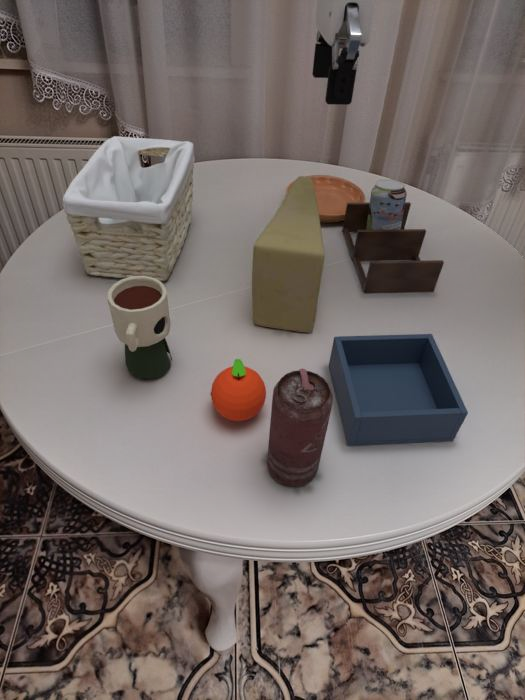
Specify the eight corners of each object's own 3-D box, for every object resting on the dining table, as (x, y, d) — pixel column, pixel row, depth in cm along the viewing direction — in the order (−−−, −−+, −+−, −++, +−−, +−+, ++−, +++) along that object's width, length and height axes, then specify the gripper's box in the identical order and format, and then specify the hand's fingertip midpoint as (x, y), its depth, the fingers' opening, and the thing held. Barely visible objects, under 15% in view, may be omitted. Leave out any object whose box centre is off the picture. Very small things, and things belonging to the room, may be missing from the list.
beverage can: (375, 259, 92) (389, 198, 83) (353, 237, 96) (365, 178, 88) (404, 252, 94) (420, 191, 85) (381, 231, 98) (395, 172, 90)
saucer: (368, 229, 98) (371, 215, 96) (285, 226, 98) (287, 212, 96) (357, 189, 110) (360, 176, 108) (284, 186, 109) (285, 173, 107)
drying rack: (402, 230, 99) (410, 202, 95) (433, 291, 85) (444, 262, 81) (342, 230, 98) (346, 202, 94) (363, 293, 84) (370, 263, 80)
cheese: (272, 246, 93) (277, 167, 82) (325, 253, 92) (337, 174, 82) (249, 326, 78) (252, 242, 67) (312, 335, 77) (325, 252, 66)
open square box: (420, 362, 74) (431, 333, 69) (453, 441, 64) (468, 412, 60) (328, 365, 72) (334, 336, 68) (347, 446, 63) (355, 417, 59)
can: (310, 439, 63) (324, 362, 53) (323, 484, 59) (341, 409, 49) (262, 445, 62) (268, 368, 53) (272, 491, 58) (280, 417, 48)
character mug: (167, 397, 67) (157, 324, 58) (114, 393, 67) (95, 320, 58) (181, 340, 75) (174, 268, 66) (133, 336, 75) (119, 264, 66)
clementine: (211, 384, 69) (209, 347, 64) (262, 383, 70) (264, 346, 65) (211, 433, 63) (209, 396, 58) (267, 431, 64) (269, 394, 59)
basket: (120, 207, 101) (106, 132, 90) (201, 214, 100) (197, 139, 89) (77, 280, 84) (55, 199, 73) (175, 289, 83) (166, 208, 73)
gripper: (411, -70, 48) (375, 115, 61) (367, -89, 60) (345, 68, 73) (333, -73, 48) (312, 115, 60) (305, -92, 60) (293, 67, 72)
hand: (330, 89), depth 66 cm, fingers open, 9 cm apart
